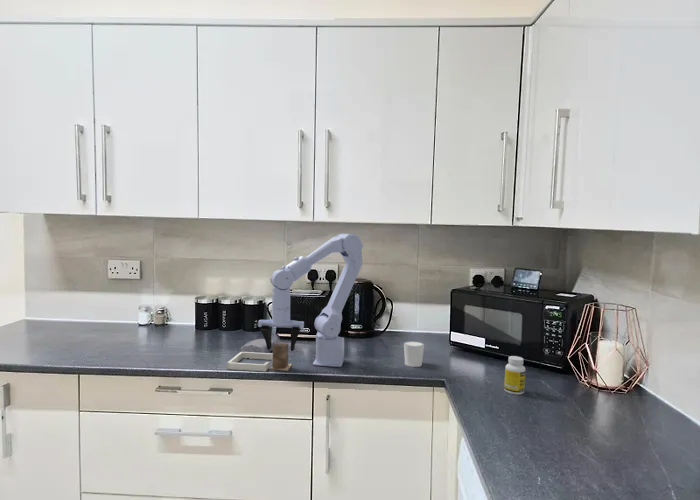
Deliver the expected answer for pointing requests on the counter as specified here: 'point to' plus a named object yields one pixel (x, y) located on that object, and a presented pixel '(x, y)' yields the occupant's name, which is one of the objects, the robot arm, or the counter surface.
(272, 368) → the cork trivet
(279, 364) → the walnut block
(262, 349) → the stone block
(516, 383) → the supplement bottle
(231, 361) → the white open square frame
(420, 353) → the shot glass
